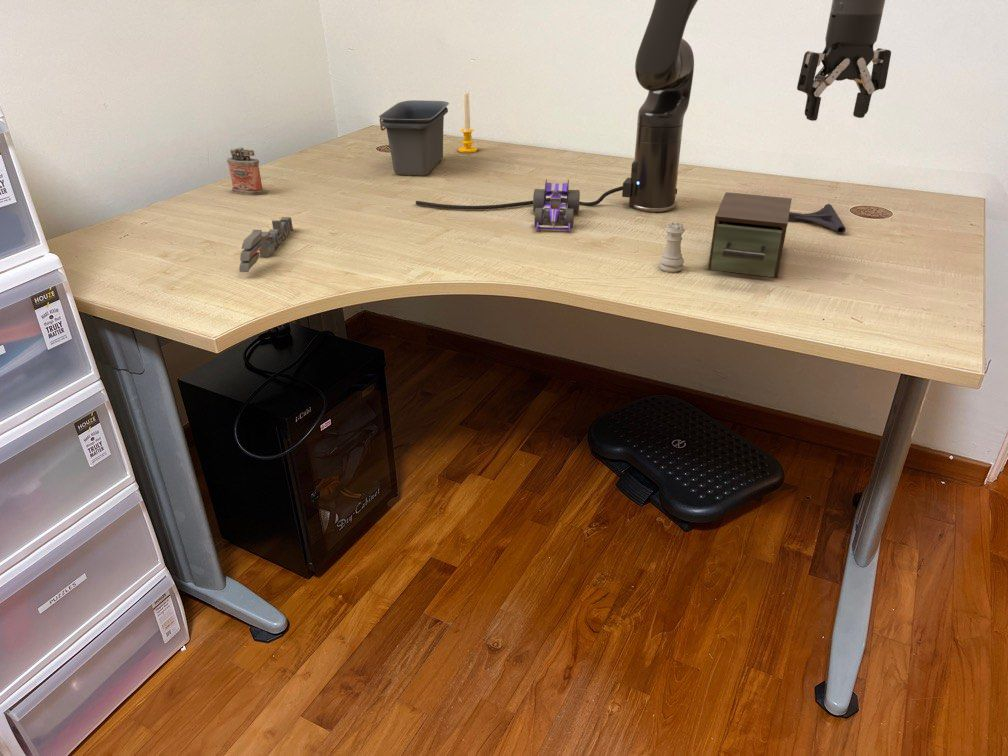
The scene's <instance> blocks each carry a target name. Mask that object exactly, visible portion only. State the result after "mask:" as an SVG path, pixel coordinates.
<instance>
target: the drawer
mask: <svg viewBox="0 0 1008 756" xmlns="http://www.w3.org/2000/svg"><path fill="white" fill-rule="evenodd" d="M781 235H782V230H779V227H771V226H761V225H752V224H742V223H733V222H723V223H722V224H717V226H716V233H715V241H714V248H713V255H712V263H711V269H712V270H711V271H718V270H720V272H726V271H728V272H727V273H734V272H736V273H735V274H743V273H744V275H751V274H752V275H751V276H759V275H760V277H767V276H768V277H767V278H775V277H774V274H775V268H776V263H777V257H778V251H779V246H780V240H781Z"/></svg>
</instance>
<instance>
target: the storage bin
mask: <svg viewBox="0 0 1008 756" xmlns="http://www.w3.org/2000/svg"><path fill="white" fill-rule="evenodd" d="M449 105H450V103H449V102H448V101H443V100H417V99H416V100H415V99H414V100H412V99H411V100H404V101H403V100H402V101H399V102H397V103H396V104H394V105H392V106H391V107H390V108H387V110H385V111H384V112H383V113H380V115H378V118H379V126H380V131H382V132H383V131H385V130H386V135H387V140H388V145H389V151H390V156H391V162H392V166H393V167H392V168H393V172H394V174H396V175H398V176H401V175H402V176H423V177H424V176H428V175H429V173H430V172H431V171H432V170H433V169H434V168H436V166H437V165H438V164H439V163H440V162H441V161H442V159H443V158H444V121H445V115H446V114H447V113H449V109H448V106H449Z"/></svg>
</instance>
